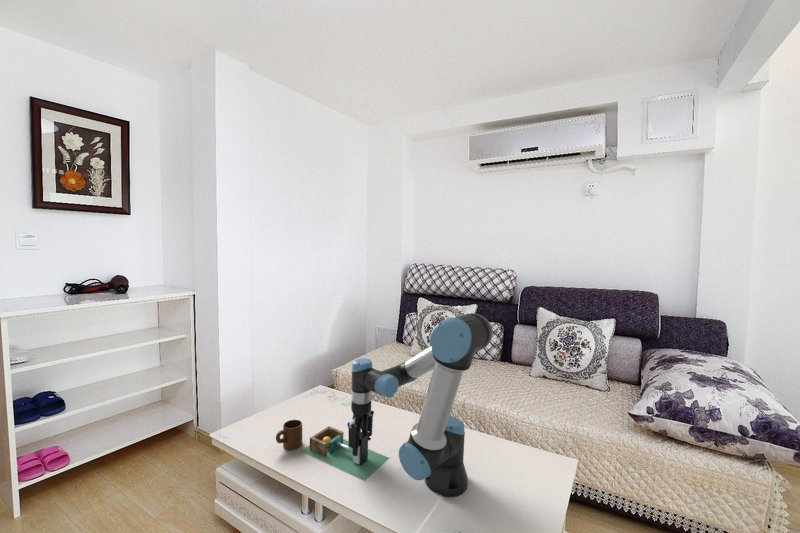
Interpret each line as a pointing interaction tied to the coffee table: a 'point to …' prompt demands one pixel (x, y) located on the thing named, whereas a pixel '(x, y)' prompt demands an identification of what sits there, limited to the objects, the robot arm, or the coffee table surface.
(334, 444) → the rod
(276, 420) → the coffee table surface
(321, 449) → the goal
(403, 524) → the coffee table surface
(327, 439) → the ball
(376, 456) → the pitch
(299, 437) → the mug
